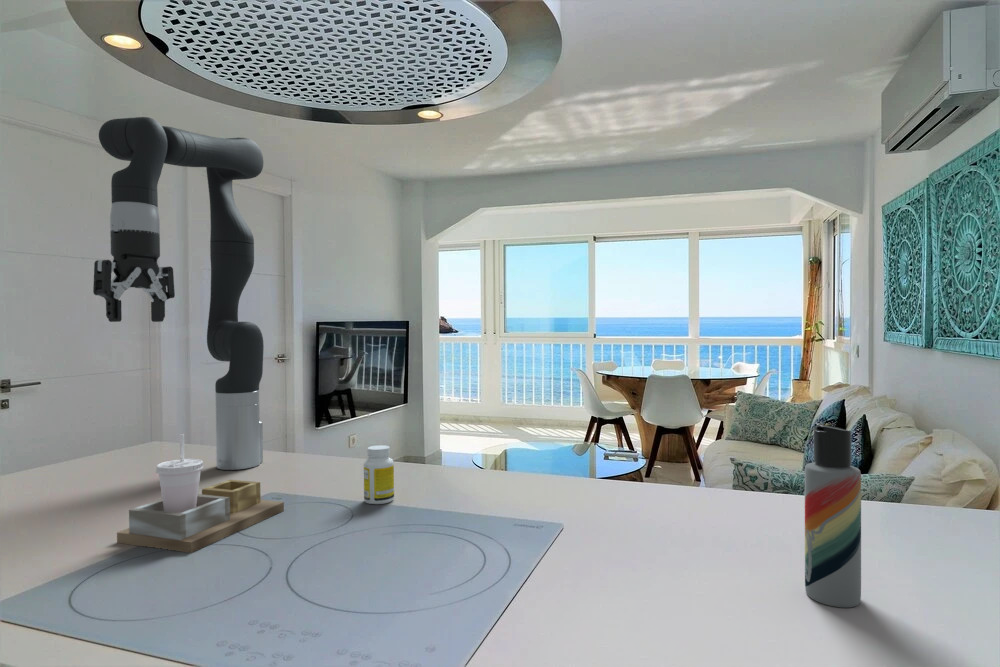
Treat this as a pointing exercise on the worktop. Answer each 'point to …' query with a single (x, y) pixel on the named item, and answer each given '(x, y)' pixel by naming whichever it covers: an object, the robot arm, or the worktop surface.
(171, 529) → the fitting board
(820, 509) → the lotion bottle
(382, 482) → the supplement bottle
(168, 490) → the smoothie
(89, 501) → the worktop surface
